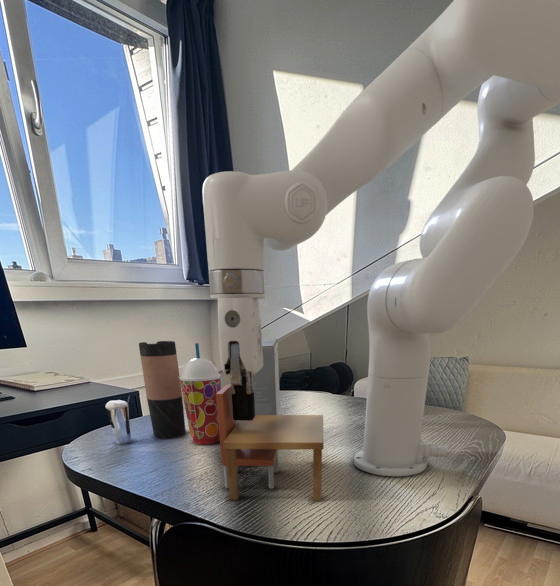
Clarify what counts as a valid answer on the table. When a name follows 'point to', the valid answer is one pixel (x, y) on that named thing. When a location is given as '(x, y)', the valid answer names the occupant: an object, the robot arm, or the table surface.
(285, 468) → the table surface
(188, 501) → the table surface
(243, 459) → the chair
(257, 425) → the mini table
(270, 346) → the hard drive box
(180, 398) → the travel mug
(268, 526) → the table surface
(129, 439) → the milkshake
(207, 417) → the smoothie
